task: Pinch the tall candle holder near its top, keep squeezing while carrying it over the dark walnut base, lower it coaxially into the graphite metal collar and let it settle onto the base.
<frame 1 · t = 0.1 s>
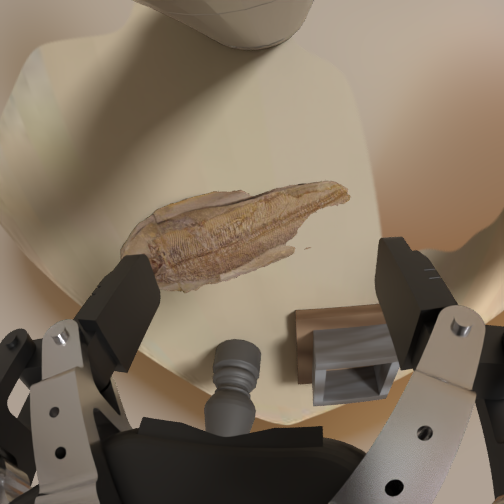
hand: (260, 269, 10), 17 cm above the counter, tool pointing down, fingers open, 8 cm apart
collar socket: (349, 344, 37), on the counter
fish fossil: (231, 236, 30), on the counter
candle holder: (239, 352, 40), on the counter
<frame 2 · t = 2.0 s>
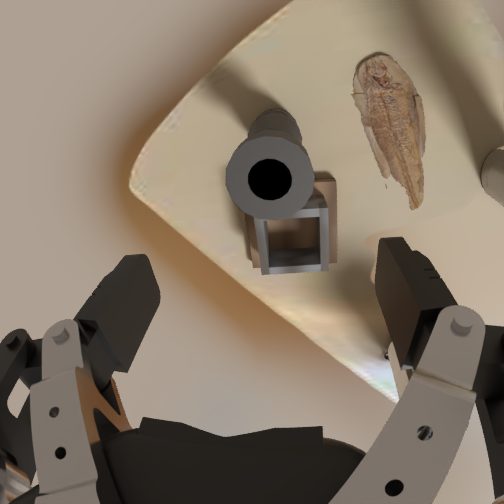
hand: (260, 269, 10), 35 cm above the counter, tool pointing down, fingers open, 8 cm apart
collar socket: (292, 223, 47), on the counter
fish fossil: (394, 138, 39), on the counter
candle holder: (275, 129, 40), on the counter
coffee press: (409, 340, 59), on the counter
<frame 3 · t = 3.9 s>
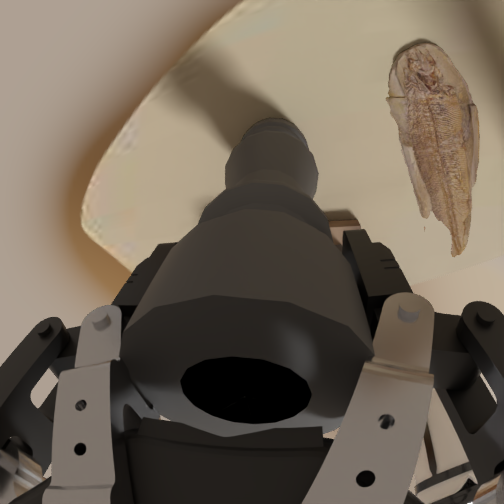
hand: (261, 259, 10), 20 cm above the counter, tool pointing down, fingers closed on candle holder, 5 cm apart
collar socket: (295, 278, 34), on the counter
fish fossil: (440, 162, 26), on the counter
candle holder: (274, 148, 27), on the counter, touching gripper
coffee press: (427, 392, 46), on the counter
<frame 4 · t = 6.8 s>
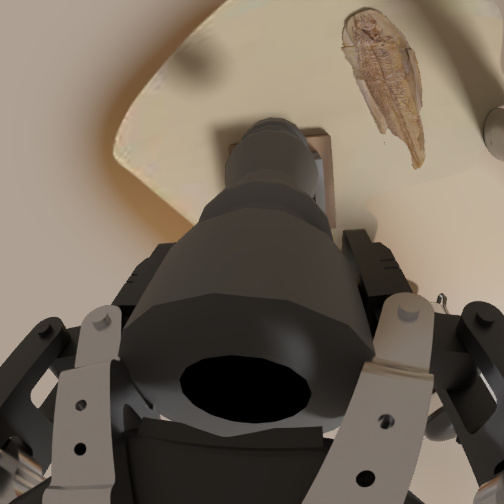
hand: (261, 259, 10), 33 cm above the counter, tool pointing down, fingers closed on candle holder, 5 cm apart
collar socket: (285, 185, 43), on the counter
fish fossil: (390, 92, 34), on the counter
candle holder: (274, 148, 27), point 14 cm above the counter, touching gripper
coffee press: (418, 320, 55), on the counter
when the fingers open (22 cm above the counter, at t = 10.1 s): candle holder drops 1 cm, resting on collar socket.
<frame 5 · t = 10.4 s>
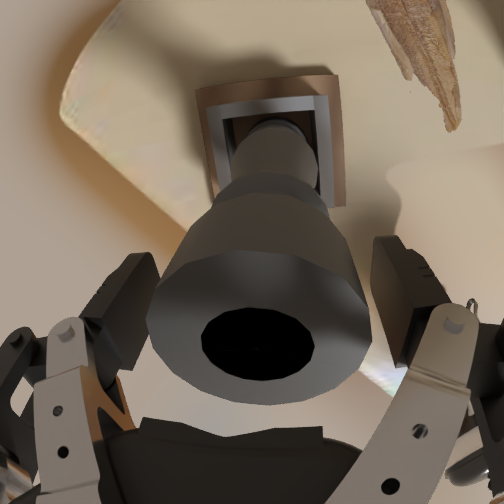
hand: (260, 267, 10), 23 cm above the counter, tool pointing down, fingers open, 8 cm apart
collar socket: (274, 143, 30), on the counter
fish fossil: (414, 30, 21), on the counter
candle holder: (276, 145, 29), point 1 cm above the counter, touching collar socket
coffee press: (441, 331, 42), on the counter
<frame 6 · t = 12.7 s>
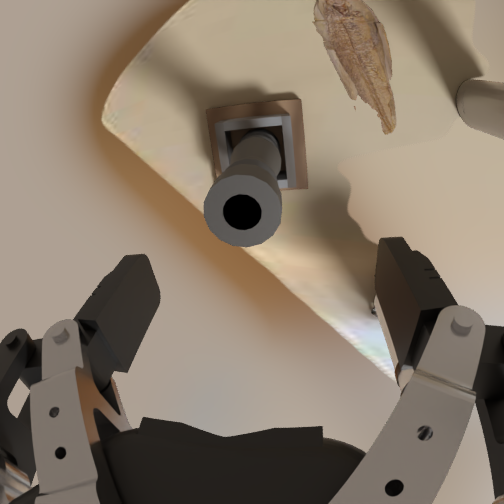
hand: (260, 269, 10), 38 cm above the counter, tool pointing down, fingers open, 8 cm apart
collar socket: (258, 146, 44), on the counter
fish fossil: (360, 62, 36), on the counter
candle holder: (259, 147, 43), point 1 cm above the counter, touching collar socket
coffee press: (398, 293, 56), on the counter
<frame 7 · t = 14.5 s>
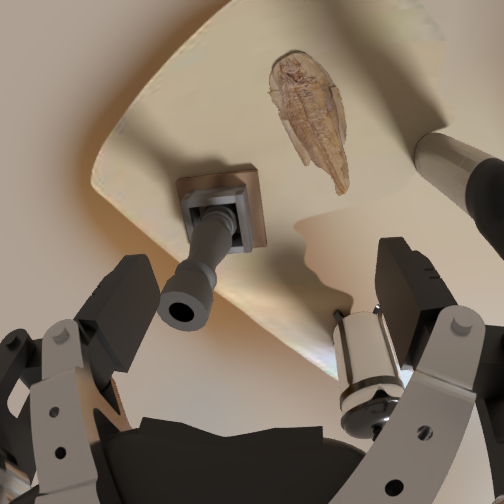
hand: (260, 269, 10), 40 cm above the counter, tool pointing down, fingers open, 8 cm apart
collar socket: (223, 211, 53), on the counter
fish fossil: (314, 128, 44), on the counter
candle holder: (222, 213, 52), point 1 cm above the counter, touching collar socket
coffee press: (358, 327, 65), on the counter
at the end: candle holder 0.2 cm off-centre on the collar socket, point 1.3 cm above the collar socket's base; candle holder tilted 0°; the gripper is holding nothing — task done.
